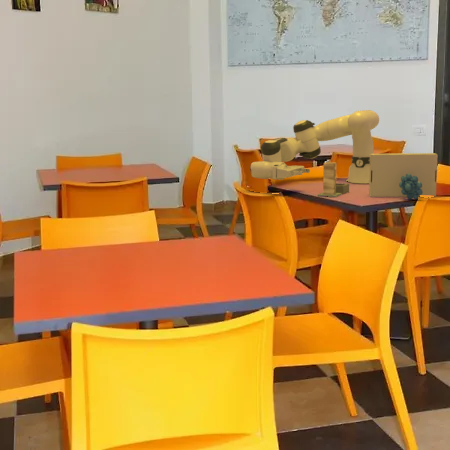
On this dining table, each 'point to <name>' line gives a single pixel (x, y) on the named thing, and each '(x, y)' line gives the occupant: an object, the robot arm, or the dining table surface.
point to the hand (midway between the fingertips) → (305, 172)
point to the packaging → (401, 173)
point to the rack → (342, 188)
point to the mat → (330, 195)
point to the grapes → (410, 186)
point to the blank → (329, 178)
